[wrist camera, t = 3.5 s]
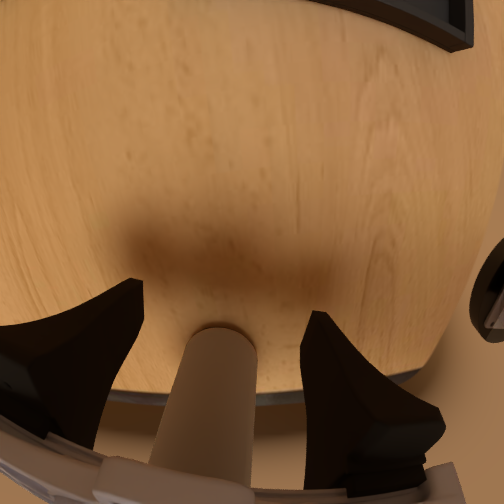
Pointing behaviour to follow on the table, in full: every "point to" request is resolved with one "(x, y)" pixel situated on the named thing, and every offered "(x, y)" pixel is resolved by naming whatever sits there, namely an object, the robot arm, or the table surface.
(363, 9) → the tray
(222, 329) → the beverage can
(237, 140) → the table surface
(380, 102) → the table surface
